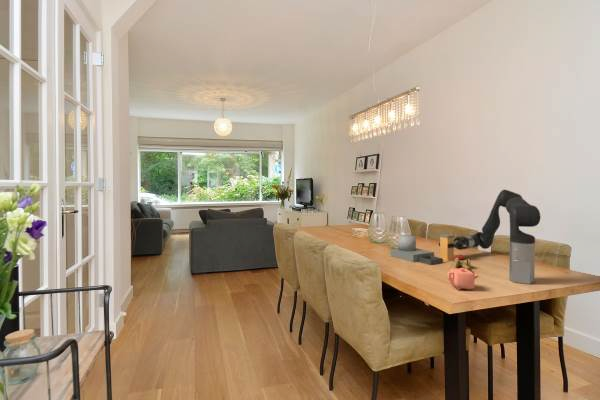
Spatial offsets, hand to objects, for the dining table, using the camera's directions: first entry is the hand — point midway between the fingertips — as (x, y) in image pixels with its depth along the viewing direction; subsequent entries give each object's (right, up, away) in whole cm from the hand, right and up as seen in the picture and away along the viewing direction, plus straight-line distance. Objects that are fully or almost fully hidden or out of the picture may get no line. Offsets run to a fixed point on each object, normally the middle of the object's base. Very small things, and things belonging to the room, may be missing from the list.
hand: (443, 245), depth 188 cm
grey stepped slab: (-13, -8, +4) cm, 16 cm away
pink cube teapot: (-13, -11, -50) cm, 53 cm away
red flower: (+2, -10, -19) cm, 21 cm away
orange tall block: (+2, -8, +2) cm, 9 cm away
